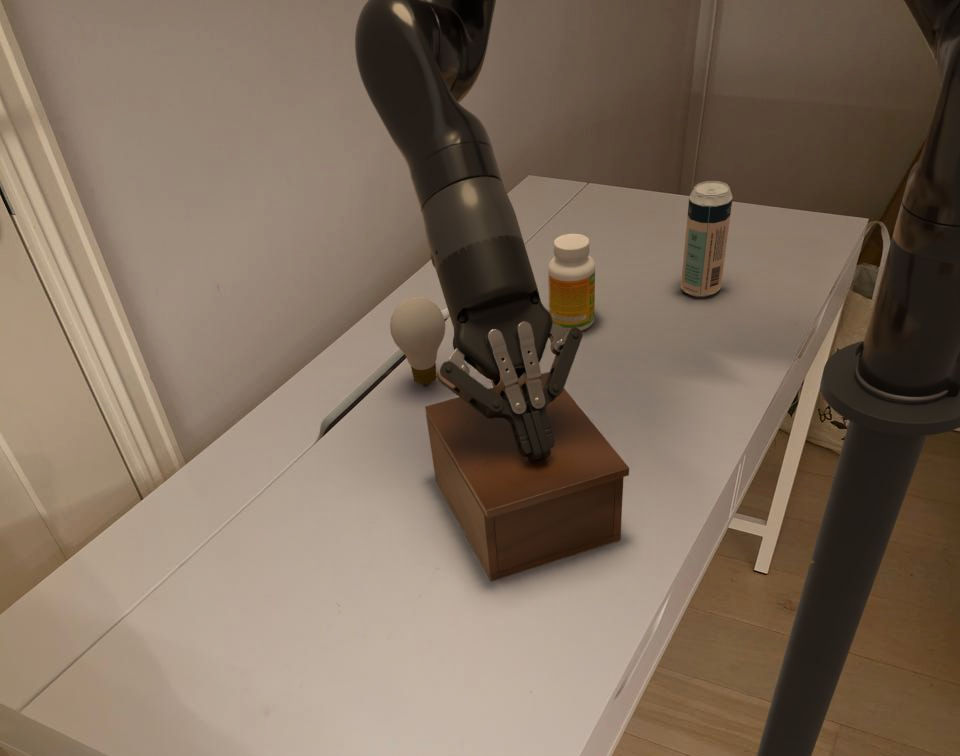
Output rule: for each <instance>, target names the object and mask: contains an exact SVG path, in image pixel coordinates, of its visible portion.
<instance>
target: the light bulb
mask: <svg viewBox="0 0 960 756" xmlns="http://www.w3.org/2000/svg"><path fill="white" fill-rule="evenodd" d="M389 329H390V335H391V337H392V340H393V342H394V344H395V345H396V346H397V348H399V350H401V352H402V353H403V355H404V356H405V358H406V360H407V362H408V364H409V365H410V369H411V373H412V378H413V382H414V383H415V384H418V385H421V386H424V387H428V386H430V385H431V384H432V383H434V382H436V380H437V363H436V362H437V359H438V352H439V348H440V346H441V344H442V343H443V341H444V338H445V334H446V321H445V317H444V314H443V311H442V310H441V309H440V307H439V306H438V305H437V304H436V303H435V302H433V301H432V300H430V299H429V298H426V297H422V296H412V297H408V298H405V299H404V300H402V301H401V302H400V303H398V304H397V306H396V307H395V308H394V309H393V311H392V314H391V317H390V321H389Z"/></svg>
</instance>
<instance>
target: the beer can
mask: <svg viewBox="0 0 960 756" xmlns="http://www.w3.org/2000/svg"><path fill="white" fill-rule="evenodd" d="M732 205H733V194H732V191H731V187H730V186H729V185H728V183H725V182H724V181H719V180H706V181H703V182H698V183H697V184H696V185H695V186H694V187H693V190H692V191H691V193H690V194H689V197H688V207H687V216H686V217H687V219H686V228H685V239H684V249H683V260H682V269H681V270H682V271H681V281H680V288H681V290H682V291H683V292H684V293H686V294H688V295H689V296H691V297H696V298H706V297H709V296H712V295H714V294H716V293H718V292H719V291H720V290H721V288H722V284H723V283H722V281H723V275H724V269H725V268H724V267H725V260H726V259H725V258H726V252H727V243H728V238H729V237H728V236H729V228H730V222H731V221H730V220H731V214H732V213H731V212H732Z"/></svg>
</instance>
